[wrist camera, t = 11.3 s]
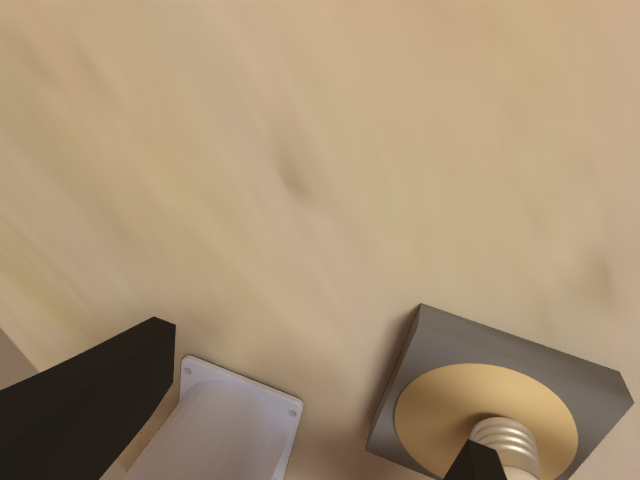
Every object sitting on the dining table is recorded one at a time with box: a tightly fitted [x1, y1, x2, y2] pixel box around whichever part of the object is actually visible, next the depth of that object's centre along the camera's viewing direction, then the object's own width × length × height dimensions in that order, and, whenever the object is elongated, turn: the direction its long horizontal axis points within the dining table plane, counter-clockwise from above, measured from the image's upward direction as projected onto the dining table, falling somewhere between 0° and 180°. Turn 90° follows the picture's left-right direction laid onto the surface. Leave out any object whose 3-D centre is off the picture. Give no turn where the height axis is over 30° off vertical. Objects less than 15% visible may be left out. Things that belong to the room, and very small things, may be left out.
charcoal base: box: [365, 303, 634, 480], centre depth 21 cm, size 9×9×2 cm
